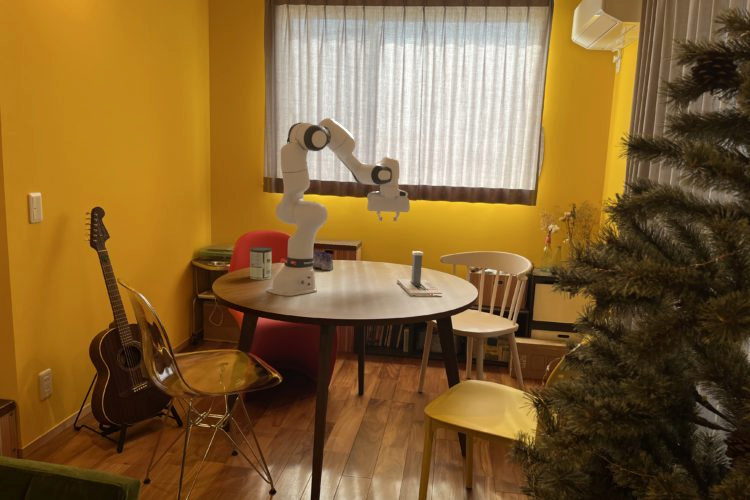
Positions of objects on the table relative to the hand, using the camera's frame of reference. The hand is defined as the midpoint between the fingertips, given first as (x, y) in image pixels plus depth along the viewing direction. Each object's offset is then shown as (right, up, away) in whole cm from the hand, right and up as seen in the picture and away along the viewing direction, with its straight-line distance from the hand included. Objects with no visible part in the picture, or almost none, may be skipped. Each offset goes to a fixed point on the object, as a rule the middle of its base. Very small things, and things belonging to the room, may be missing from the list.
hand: (387, 221), depth 269 cm
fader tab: (+13, -31, -5) cm, 34 cm away
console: (+14, -32, -10) cm, 36 cm away
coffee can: (-61, -27, -2) cm, 67 cm away
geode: (-34, -24, +31) cm, 51 cm away
